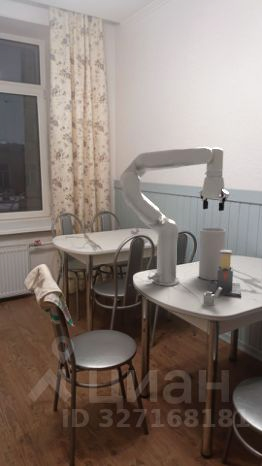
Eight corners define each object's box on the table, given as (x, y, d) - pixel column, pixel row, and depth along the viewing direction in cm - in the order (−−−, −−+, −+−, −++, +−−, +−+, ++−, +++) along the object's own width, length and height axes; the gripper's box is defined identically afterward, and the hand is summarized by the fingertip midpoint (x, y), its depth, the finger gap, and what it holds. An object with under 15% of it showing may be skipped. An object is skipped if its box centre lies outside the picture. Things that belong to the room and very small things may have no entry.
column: (219, 288, 153) (220, 251, 150) (219, 284, 157) (220, 249, 154) (230, 289, 151) (231, 252, 148) (229, 285, 156) (231, 250, 153)
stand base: (208, 294, 150) (208, 270, 148) (209, 284, 163) (210, 261, 161) (240, 297, 146) (242, 272, 144) (239, 286, 159) (240, 263, 157)
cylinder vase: (226, 280, 168) (228, 231, 163) (201, 280, 168) (203, 231, 163) (219, 273, 180) (221, 227, 176) (196, 273, 180) (198, 227, 176)
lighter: (203, 303, 139) (203, 285, 138) (204, 302, 141) (205, 284, 139) (220, 307, 136) (221, 288, 134) (221, 305, 137) (222, 287, 136)
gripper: (195, 174, 166) (194, 209, 169) (224, 174, 153) (222, 212, 156) (205, 174, 171) (204, 207, 174) (234, 174, 157) (232, 210, 160)
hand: (213, 209), depth 165 cm, fingers open, 9 cm apart
